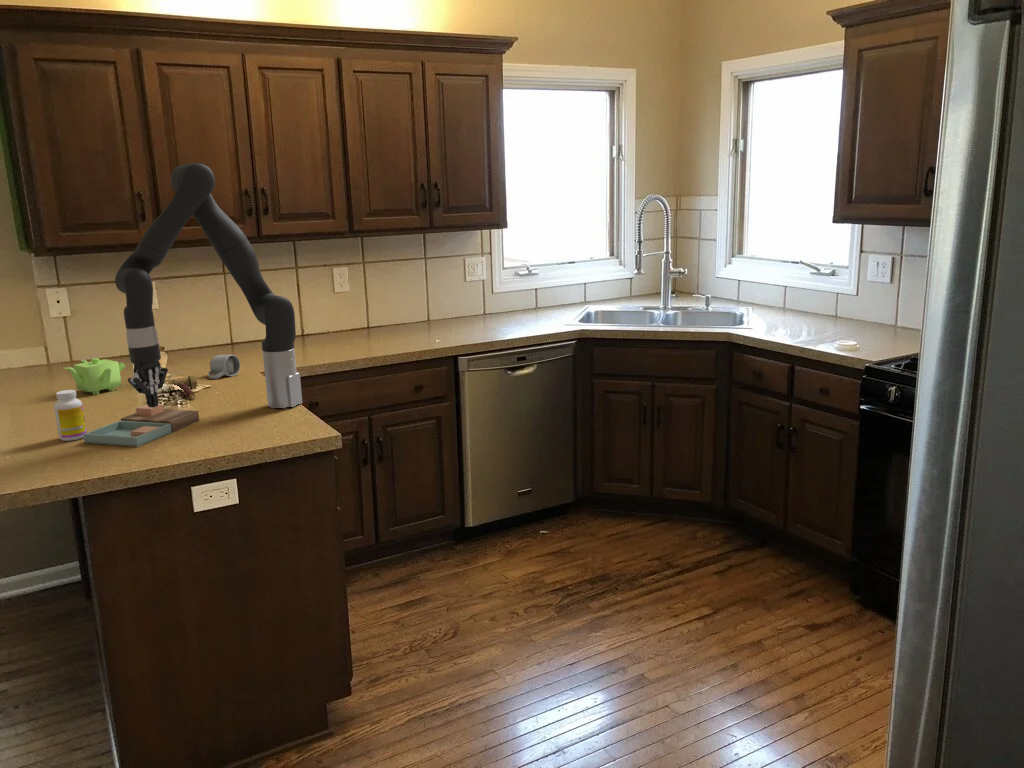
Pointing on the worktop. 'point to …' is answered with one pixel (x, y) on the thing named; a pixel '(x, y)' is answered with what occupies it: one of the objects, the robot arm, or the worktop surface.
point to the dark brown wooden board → (167, 418)
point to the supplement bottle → (69, 416)
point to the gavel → (185, 385)
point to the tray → (126, 433)
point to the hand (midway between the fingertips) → (153, 406)
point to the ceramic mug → (224, 366)
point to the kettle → (97, 375)
